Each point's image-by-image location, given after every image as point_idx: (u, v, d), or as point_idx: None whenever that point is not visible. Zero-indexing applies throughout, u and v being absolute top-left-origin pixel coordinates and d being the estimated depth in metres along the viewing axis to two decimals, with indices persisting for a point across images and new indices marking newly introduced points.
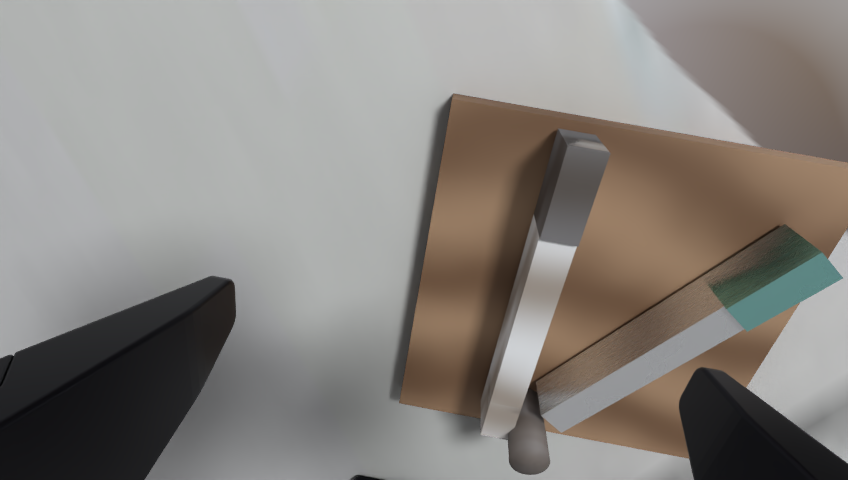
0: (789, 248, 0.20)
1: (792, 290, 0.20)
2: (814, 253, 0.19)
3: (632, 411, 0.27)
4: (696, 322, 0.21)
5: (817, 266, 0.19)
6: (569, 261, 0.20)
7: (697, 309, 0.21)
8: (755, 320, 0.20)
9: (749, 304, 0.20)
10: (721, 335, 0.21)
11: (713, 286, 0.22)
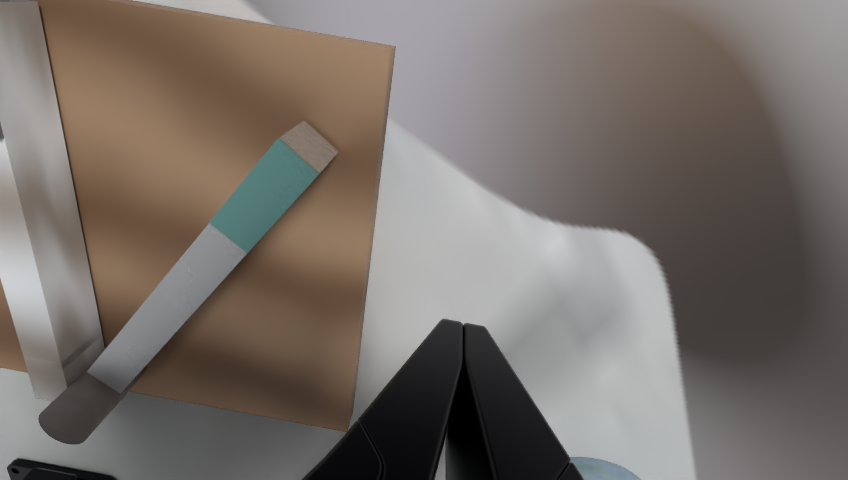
0: None
1: (270, 195, 0.15)
2: None
3: (248, 372, 0.23)
4: (195, 243, 0.17)
5: (281, 159, 0.15)
6: (7, 162, 0.16)
7: None
8: (249, 236, 0.16)
9: (231, 215, 0.16)
10: (227, 260, 0.17)
11: None
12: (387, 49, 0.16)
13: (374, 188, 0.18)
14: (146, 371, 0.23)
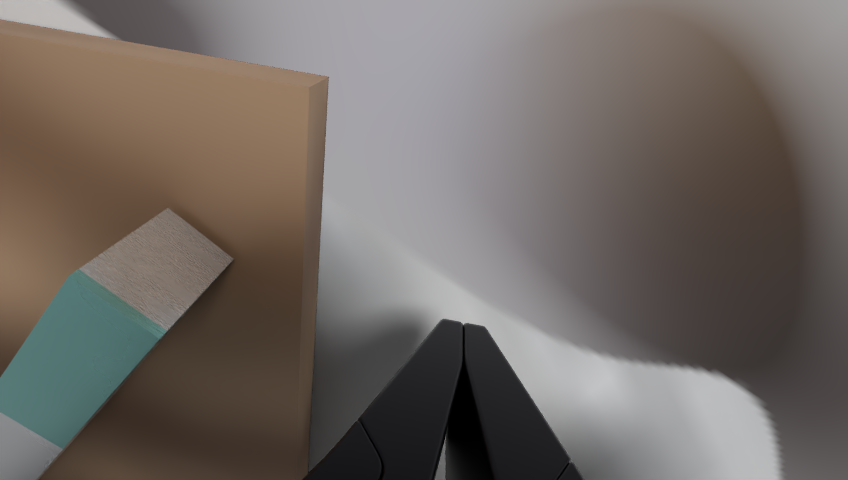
0: None
1: (78, 366, 0.08)
2: None
3: None
4: None
5: (84, 310, 0.08)
6: None
7: None
8: (58, 426, 0.09)
9: (19, 393, 0.09)
10: (36, 451, 0.10)
11: None
12: (304, 87, 0.08)
13: (301, 312, 0.11)
14: None
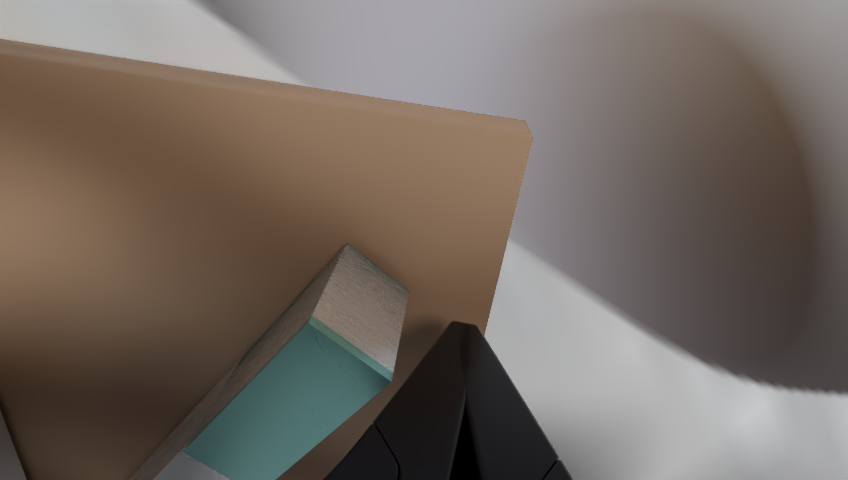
0: (306, 304, 0.08)
1: (296, 412, 0.08)
2: (304, 324, 0.07)
3: None
4: None
5: (317, 357, 0.07)
6: None
7: (184, 437, 0.10)
8: (258, 472, 0.09)
9: (224, 441, 0.08)
10: None
11: (228, 381, 0.10)
12: (526, 136, 0.08)
13: None
14: None
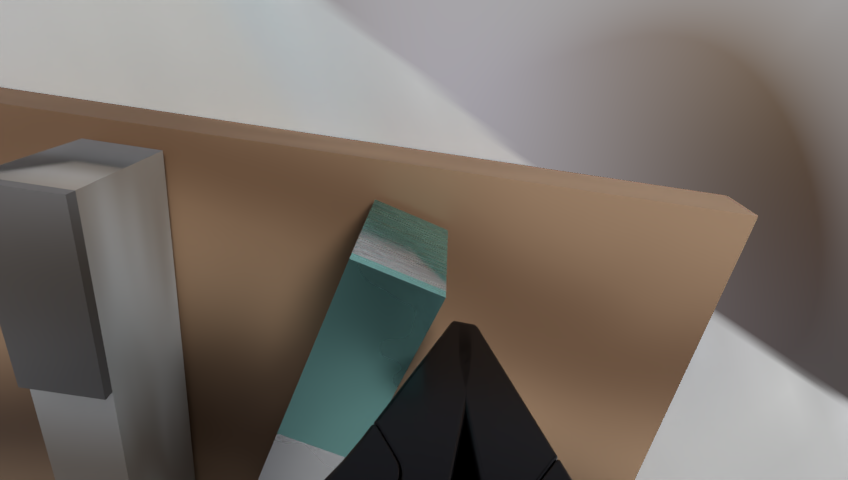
0: None
1: (367, 359, 0.08)
2: None
3: None
4: None
5: (368, 292, 0.07)
6: (114, 424, 0.09)
7: None
8: (351, 436, 0.09)
9: (311, 411, 0.09)
10: None
11: None
12: (751, 215, 0.10)
13: (668, 401, 0.12)
14: None
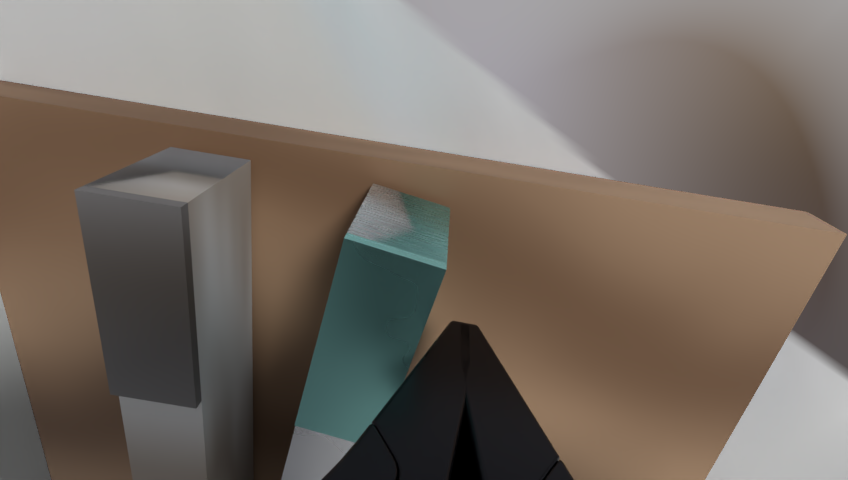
0: None
1: (374, 341, 0.08)
2: None
3: None
4: (290, 459, 0.10)
5: (367, 271, 0.07)
6: (199, 432, 0.09)
7: None
8: (368, 422, 0.09)
9: (325, 400, 0.09)
10: None
11: None
12: (839, 233, 0.09)
13: (737, 416, 0.12)
14: None
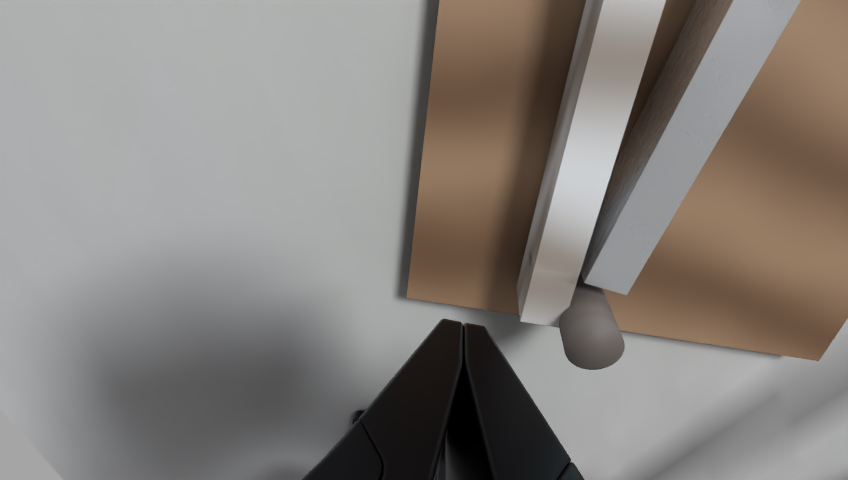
0: None
1: None
2: None
3: (727, 291, 0.20)
4: (720, 26, 0.13)
5: None
6: None
7: (716, 11, 0.13)
8: None
9: None
10: (773, 24, 0.13)
11: None
12: None
13: None
14: None
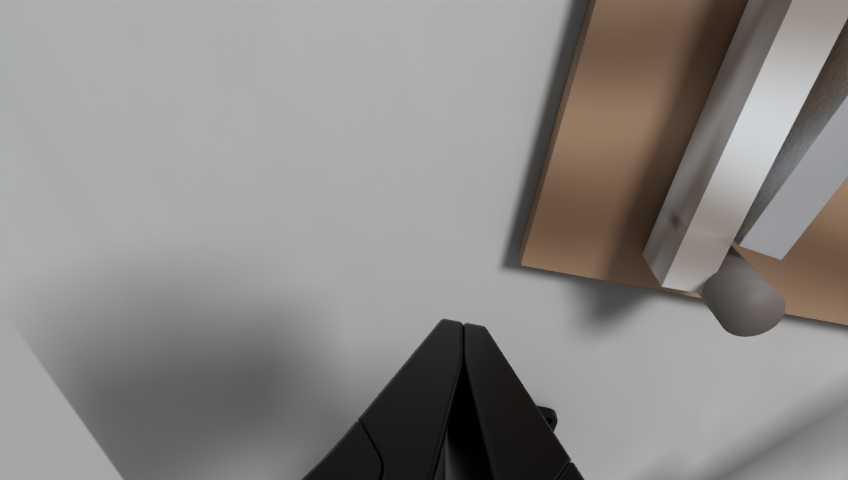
0: None
1: None
2: None
3: None
4: None
5: None
6: None
7: None
8: None
9: None
10: None
11: None
12: None
13: None
14: None
